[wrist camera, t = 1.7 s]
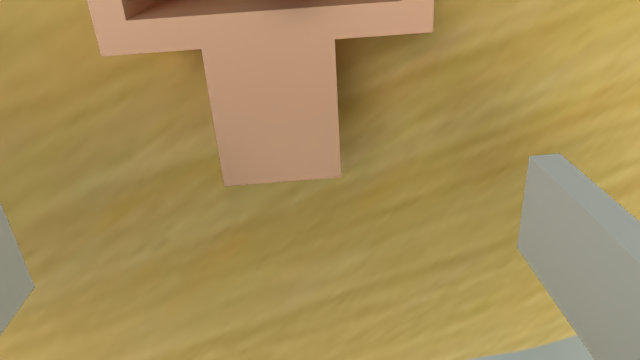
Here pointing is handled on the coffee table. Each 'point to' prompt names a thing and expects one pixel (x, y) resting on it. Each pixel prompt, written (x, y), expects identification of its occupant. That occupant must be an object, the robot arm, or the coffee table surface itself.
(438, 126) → the coffee table surface
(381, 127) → the coffee table surface
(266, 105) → the salmon open box
